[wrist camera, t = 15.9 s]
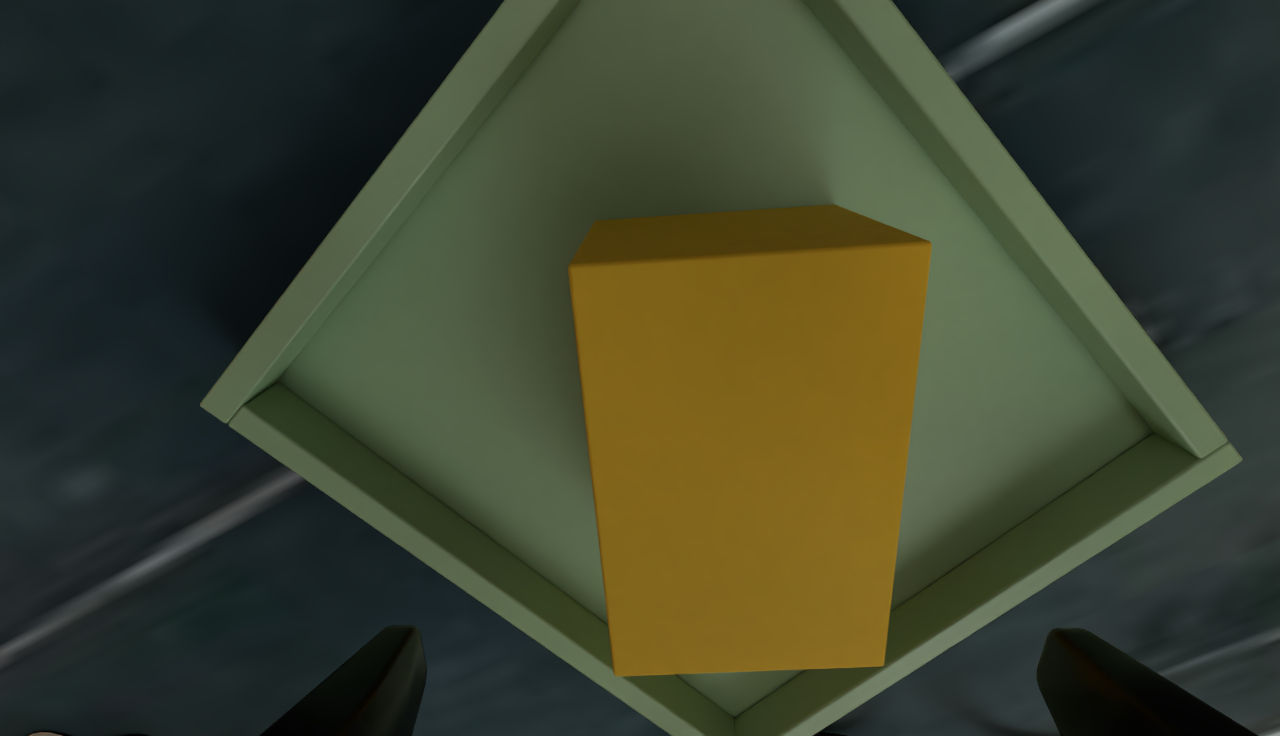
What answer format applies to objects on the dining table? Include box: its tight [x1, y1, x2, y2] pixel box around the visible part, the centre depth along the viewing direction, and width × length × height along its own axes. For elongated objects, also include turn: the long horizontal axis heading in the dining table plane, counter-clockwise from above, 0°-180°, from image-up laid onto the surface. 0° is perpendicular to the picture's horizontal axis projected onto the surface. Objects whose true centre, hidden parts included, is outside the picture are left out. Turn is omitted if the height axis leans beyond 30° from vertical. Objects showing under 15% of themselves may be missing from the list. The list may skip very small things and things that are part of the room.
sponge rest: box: [200, 0, 1242, 736], centre depth 12 cm, size 15×13×2 cm
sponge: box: [568, 204, 932, 677], centre depth 10 cm, size 7×4×4 cm, turn 4°
